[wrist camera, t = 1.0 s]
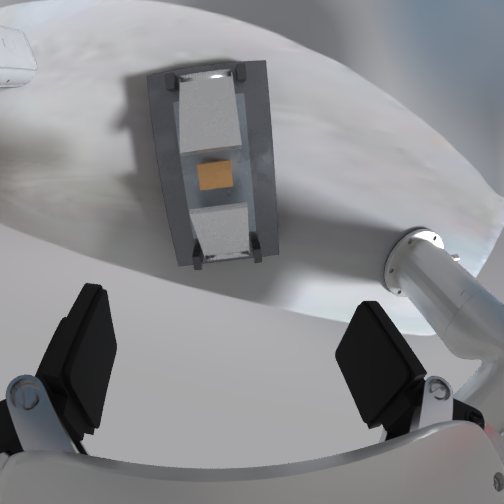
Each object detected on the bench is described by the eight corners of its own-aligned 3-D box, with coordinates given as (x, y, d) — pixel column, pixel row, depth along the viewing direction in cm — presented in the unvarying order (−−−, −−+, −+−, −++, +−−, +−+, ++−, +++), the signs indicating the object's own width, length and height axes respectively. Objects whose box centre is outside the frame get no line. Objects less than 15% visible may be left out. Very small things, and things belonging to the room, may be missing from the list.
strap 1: (181, 80, 23) (179, 73, 22) (231, 74, 23) (231, 66, 22) (182, 157, 22) (179, 151, 21) (241, 149, 22) (241, 143, 21)
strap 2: (248, 248, 32) (250, 257, 32) (205, 253, 32) (206, 263, 31) (246, 199, 24) (248, 210, 24) (189, 206, 24) (189, 217, 23)
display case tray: (260, 66, 26) (272, 51, 19) (273, 240, 37) (285, 272, 30) (155, 80, 26) (135, 70, 19) (182, 250, 36) (174, 285, 29)
